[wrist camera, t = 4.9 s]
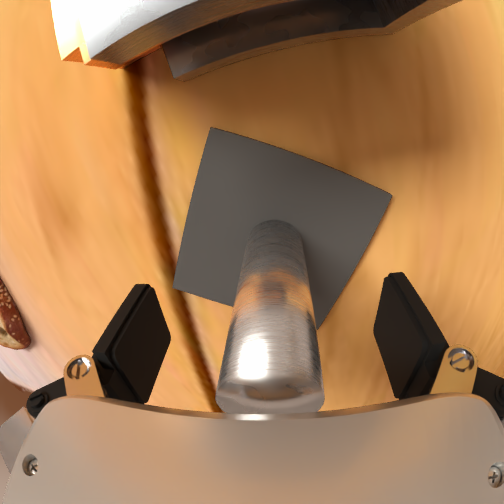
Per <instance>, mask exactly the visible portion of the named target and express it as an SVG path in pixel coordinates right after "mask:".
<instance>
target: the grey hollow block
mask: <svg viewBox="0 0 504 504" xmlns="http://www.w3.org/2000/svg"><path fill="white" fill-rule="evenodd" d="M460 1H462V0H51V6H52V13H53V20H54V26H55V31H56V37H57V42H58V47H59V51H60V56H61V60H64V61H74V62H82V63H84V65H89V66H97V67H104V68H110V69H117V68H120V69H123V68H125V67H126V66H128V65H130V64H132V63H133V62H135V61H137V60H139V59H141V58H142V57H144V56H146V55H148V54H150V53H152V52H154V51H156V50H158V49H160V48H162V47H163V50H164V53H165V55H166V58H167V61H168V64H169V67H170V69H171V72H172V75H173V78H174V79H177V80H181V81H184V82H185V81H187V80H190V79H192V78H195V77H197V76H199V75H202V74H204V73H207V72H210V71H212V70H215V69H218V68H220V67H223V66H226V65H229V64H232V63H235V62H238V61H241V60H244V59H248V58H251V57H254V56H258V55H261V54H265V53H269V52H272V51H276V50H280V49H285V48H289V47H293V46H298V45H303V44H308V43H313V42H319V41H325V40H332V39H339V38H347V37H357V36H369V35H387V34H394V33H396V32H397V31H399V30H401V29H403V28H405V27H407V26H409V25H410V24H412V23H414V22H416V21H418V20H420V19H422V18H424V17H426V16H428V15H430V14H432V13H435V12H437V11H439V10H441V9H443V8H446V7H448V6H450V5H452V4H455V3H457V2H460ZM161 44H162V47H161Z"/></svg>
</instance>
